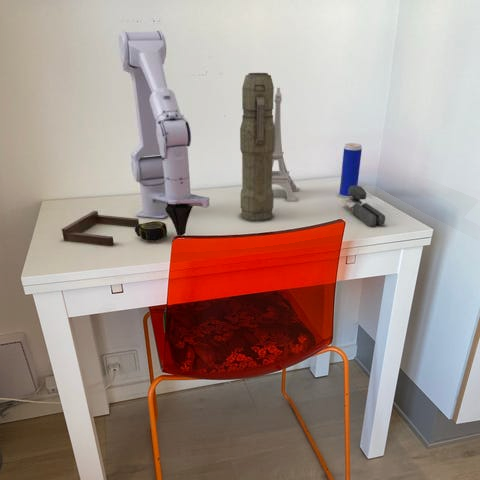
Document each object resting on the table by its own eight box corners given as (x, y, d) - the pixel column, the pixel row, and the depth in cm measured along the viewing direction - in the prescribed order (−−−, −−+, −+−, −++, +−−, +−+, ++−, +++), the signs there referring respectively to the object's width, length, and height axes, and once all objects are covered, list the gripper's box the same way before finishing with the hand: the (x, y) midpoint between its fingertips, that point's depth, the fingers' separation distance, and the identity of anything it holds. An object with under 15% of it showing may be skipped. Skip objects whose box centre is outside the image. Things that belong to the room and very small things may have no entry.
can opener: (338, 205, 137) (340, 183, 133) (354, 204, 138) (357, 182, 134) (368, 228, 121) (371, 203, 118) (386, 226, 122) (390, 202, 119)
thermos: (246, 225, 124) (246, 75, 105) (236, 211, 133) (234, 72, 115) (278, 222, 125) (283, 74, 107) (266, 208, 135) (269, 71, 117)
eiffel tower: (256, 187, 154) (257, 85, 138) (297, 188, 152) (303, 85, 137) (251, 199, 143) (252, 90, 127) (295, 201, 141) (301, 90, 125)
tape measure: (161, 232, 120) (159, 217, 118) (172, 240, 115) (170, 225, 113) (135, 237, 117) (133, 223, 115) (145, 246, 112) (143, 231, 110)
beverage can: (343, 192, 148) (348, 142, 140) (358, 195, 145) (365, 144, 138) (336, 196, 145) (341, 145, 137) (351, 199, 142) (357, 147, 134)
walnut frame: (95, 221, 127) (93, 210, 126) (139, 225, 124) (138, 214, 122) (63, 240, 116) (61, 229, 114) (111, 246, 112) (109, 234, 111)
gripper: (139, 179, 105) (146, 236, 112) (200, 183, 101) (203, 243, 108) (153, 171, 111) (159, 226, 118) (211, 175, 107) (213, 232, 114)
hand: (181, 233), depth 113 cm, fingers closed
